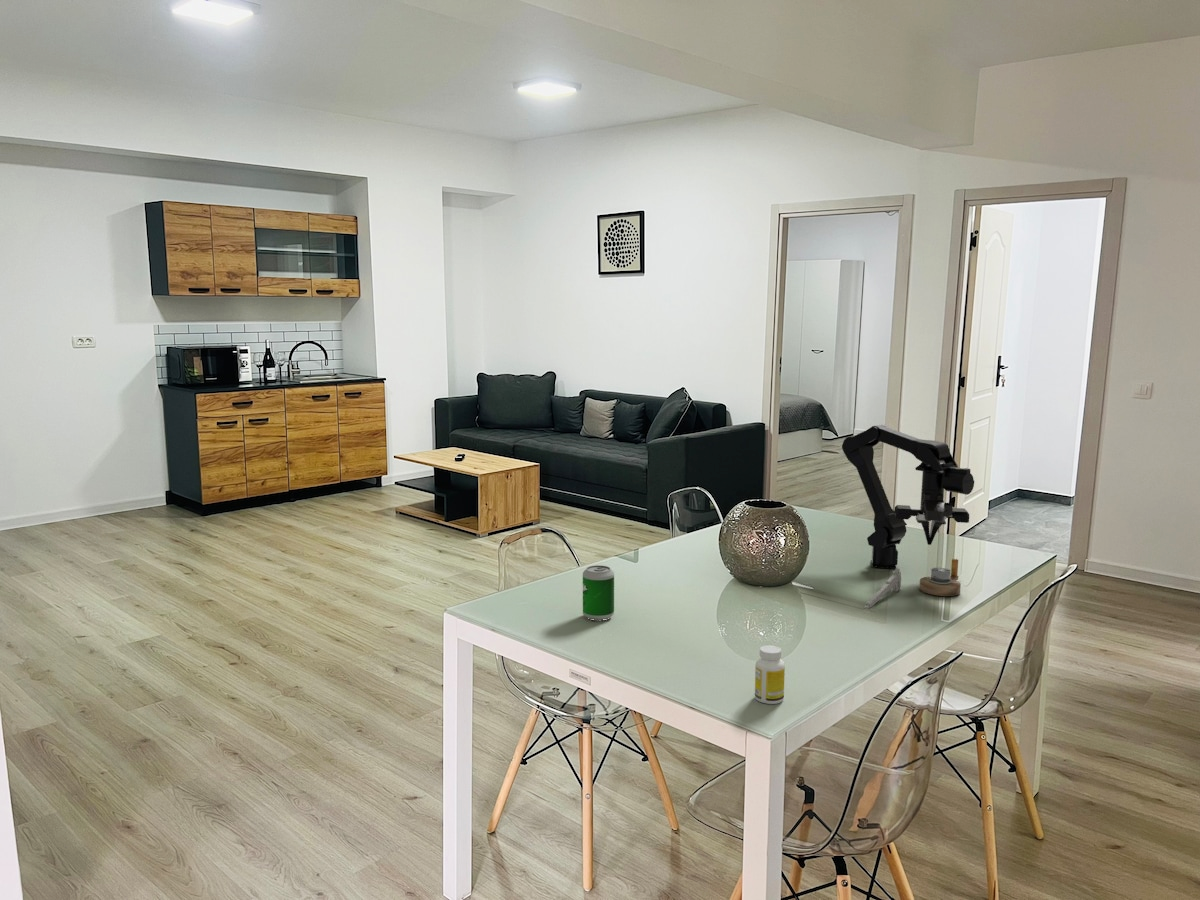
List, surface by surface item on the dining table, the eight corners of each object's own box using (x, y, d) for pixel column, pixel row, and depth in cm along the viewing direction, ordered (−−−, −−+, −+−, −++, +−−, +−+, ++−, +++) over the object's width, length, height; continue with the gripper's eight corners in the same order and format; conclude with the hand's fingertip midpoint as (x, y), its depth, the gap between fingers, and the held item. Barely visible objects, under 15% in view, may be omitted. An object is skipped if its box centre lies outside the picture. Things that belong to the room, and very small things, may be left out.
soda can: (619, 615, 215) (620, 567, 213) (604, 624, 208) (604, 575, 207) (593, 610, 219) (592, 562, 217) (576, 619, 212) (576, 570, 210)
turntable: (949, 598, 226) (950, 573, 225) (912, 589, 233) (913, 565, 232) (973, 587, 236) (975, 562, 235) (937, 579, 243) (938, 555, 242)
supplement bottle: (788, 697, 169) (790, 648, 167) (775, 707, 165) (777, 656, 163) (762, 690, 172) (764, 641, 171) (749, 700, 168) (750, 650, 166)
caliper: (896, 589, 235) (897, 566, 234) (900, 590, 235) (901, 567, 234) (863, 609, 220) (864, 584, 219) (867, 610, 219) (868, 585, 218)
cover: (925, 581, 233) (926, 569, 232) (935, 577, 236) (936, 565, 236) (945, 586, 229) (945, 573, 229) (954, 582, 233) (955, 569, 232)
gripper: (899, 492, 236) (895, 549, 239) (974, 496, 232) (970, 554, 235) (895, 484, 247) (892, 539, 250) (967, 488, 243) (963, 543, 245)
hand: (929, 544), depth 244 cm, fingers closed
